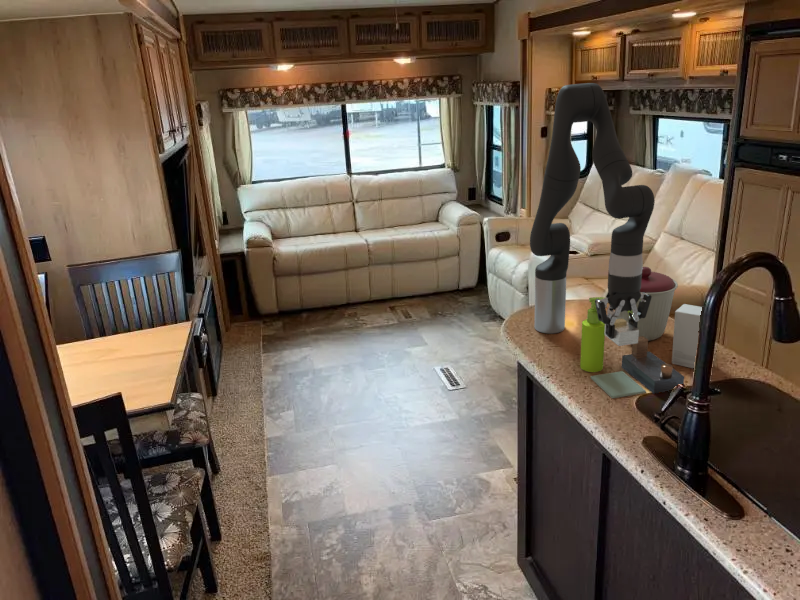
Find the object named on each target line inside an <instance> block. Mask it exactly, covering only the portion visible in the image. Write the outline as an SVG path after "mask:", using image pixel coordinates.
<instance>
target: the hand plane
mask: <svg viewBox="0 0 800 600" xmlns="http://www.w3.org/2000/svg"><path fill="white" fill-rule="evenodd" d="M648 346H649V340H648V339H647V338H645V337H644V336H641V337H638V343H636V344H631V354H624V355H622V356H621V368H622V369H623V370H624V371H625V372H626V373H628V374H629V375H631V376H632V378H634V380H636V382H637V381H638V383H639V384H641V385H642V386H644V388H646V389H647V390H648V391H649V392H650V393H652V394H653V395H655V393H656V394H660V393H659V392H662V393H666V392H665V391H668V392H670V391H669V390H671V389H673V388H674V387H675V386H677V385H678V384H683V385H684V383H685V376H684V374H681V373H680V371H677V369H675V368H673V367H674V366H673V364H670V363H666V362H665V361H664V360H662V359H661V358H659V357H658V356H656V354H654V353H653V352H651V351H648Z"/></svg>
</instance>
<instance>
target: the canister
mask: <svg viewBox="0 0 800 600" xmlns="http://www.w3.org/2000/svg"><path fill="white" fill-rule="evenodd" d="M642 267H643V268H642V280H641V289H640V293H643V292H645V293H647V294H649V295H651V296H652V298H651V301H650V305H649V308H648V311H647V314H646V317H645V318H641V319H639V321H638V324H637V329H638V330H639V336H638V337H641V336H644V337H645V338H647V339H648V341H654V340H656V339H659V338H661V337H662V336H663V334H664V333H665V330H666V328H667V325H668V321H669V316H670V312H671V308H672V305H673V304H672V303H673V298H674V295H675V291H676V290H677V288H678V287H679V284H678V282H677V280H675V279H673V278H672V277H670V276H669V275H666V274H664V273H661V272H657V271H652V269H651V268H650V267H648V266H642ZM638 305H639V300H638V302H637V303H636V307H637V308H638ZM622 318H623V319H624V320H626V321H627V322H628V321H629V319H630V317H629V314H628V312H627V311H623V312H620V314H619V316H618V317H617V318H616V319H622Z"/></svg>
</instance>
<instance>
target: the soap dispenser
mask: <svg viewBox="0 0 800 600" xmlns="http://www.w3.org/2000/svg"><path fill="white" fill-rule="evenodd" d="M603 298H605V297H603V296H595V297H588V300H589V303H591V304H590V306H591V307H590V308H589V309H587V315H586V317H587V318H586V319H584V320H582V322H581V339H580V340H581V342H580V361H579V362H580V363H579V364H580V365H579V366H580V369H581V370H583V371H585V372H588V373H598V372H601V371H602V370H603V368H604V357H605V355H604V353H605V337H606V336H605V335H604V333H605V324H604V323H603V322H601V321H600V320H599V319H598V315H597V310H596V305H595V300H596V299H599V300H601V299H603Z"/></svg>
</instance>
